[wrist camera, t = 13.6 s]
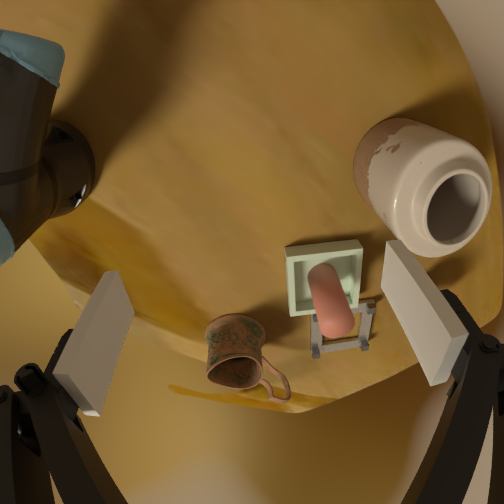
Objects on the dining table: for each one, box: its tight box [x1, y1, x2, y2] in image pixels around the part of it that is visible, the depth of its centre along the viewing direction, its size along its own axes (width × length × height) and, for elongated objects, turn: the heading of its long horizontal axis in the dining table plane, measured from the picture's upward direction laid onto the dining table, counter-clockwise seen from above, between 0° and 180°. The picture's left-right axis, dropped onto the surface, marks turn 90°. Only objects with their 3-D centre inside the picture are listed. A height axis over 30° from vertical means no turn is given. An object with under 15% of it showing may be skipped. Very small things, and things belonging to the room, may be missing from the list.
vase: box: [354, 118, 492, 257], centre depth 37 cm, size 15×15×17 cm
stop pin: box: [307, 263, 355, 338], centre depth 48 cm, size 5×5×12 cm
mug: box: [205, 314, 291, 403], centre depth 57 cm, size 12×18×12 cm, turn 56°
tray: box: [284, 239, 363, 317], centre depth 53 cm, size 12×12×3 cm
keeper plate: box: [310, 298, 376, 359], centre depth 59 cm, size 12×12×2 cm
